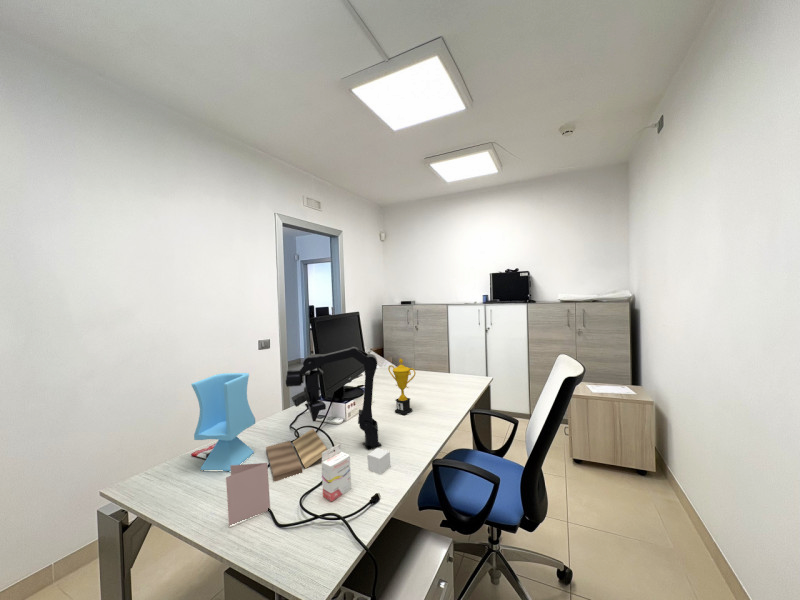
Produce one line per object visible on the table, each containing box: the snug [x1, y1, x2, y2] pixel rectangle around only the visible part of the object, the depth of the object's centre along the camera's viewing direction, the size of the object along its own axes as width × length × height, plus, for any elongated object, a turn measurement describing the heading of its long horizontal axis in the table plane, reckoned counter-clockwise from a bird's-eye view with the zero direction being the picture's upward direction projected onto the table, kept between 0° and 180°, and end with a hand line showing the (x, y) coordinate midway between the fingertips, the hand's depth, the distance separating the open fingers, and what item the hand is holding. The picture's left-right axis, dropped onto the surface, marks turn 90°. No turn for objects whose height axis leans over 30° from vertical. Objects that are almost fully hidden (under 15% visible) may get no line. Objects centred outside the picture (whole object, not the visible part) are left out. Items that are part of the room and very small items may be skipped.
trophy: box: [387, 358, 416, 416], centre depth 170 cm, size 19×10×30 cm, turn 51°
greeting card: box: [225, 462, 271, 527], centre depth 93 cm, size 11×7×15 cm, turn 92°
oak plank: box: [292, 428, 328, 469], centre depth 130 cm, size 22×10×2 cm, turn 29°
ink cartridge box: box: [320, 443, 352, 502], centre depth 103 cm, size 9×5×15 cm, turn 141°
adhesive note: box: [367, 447, 391, 475], centre depth 116 cm, size 6×6×6 cm
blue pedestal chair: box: [191, 372, 256, 471], centre depth 126 cm, size 16×16×35 cm
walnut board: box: [265, 440, 303, 482], centre depth 125 cm, size 26×10×2 cm, turn 29°
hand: (314, 421), depth 131 cm, fingers closed
